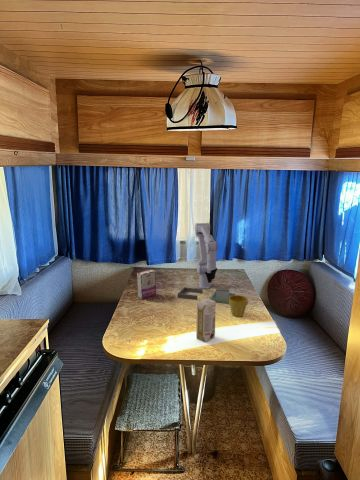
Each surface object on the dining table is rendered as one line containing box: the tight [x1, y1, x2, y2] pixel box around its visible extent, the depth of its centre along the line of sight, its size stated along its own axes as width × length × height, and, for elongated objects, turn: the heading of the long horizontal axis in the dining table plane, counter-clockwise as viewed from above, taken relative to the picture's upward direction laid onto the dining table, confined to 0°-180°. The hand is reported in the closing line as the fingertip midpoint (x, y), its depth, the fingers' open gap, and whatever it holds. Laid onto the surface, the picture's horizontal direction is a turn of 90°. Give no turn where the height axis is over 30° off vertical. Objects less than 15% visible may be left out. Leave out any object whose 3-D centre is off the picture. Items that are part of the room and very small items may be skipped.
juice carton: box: [195, 297, 217, 343], centre depth 176 cm, size 8×9×19 cm
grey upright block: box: [215, 287, 230, 300], centre depth 228 cm, size 5×8×6 cm, turn 83°
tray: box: [209, 290, 237, 305], centre depth 229 cm, size 14×14×2 cm
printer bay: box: [177, 286, 204, 301], centre depth 235 cm, size 13×13×2 cm
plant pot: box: [228, 294, 249, 318], centre depth 204 cm, size 10×10×10 cm
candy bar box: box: [136, 269, 157, 300], centre depth 232 cm, size 11×5×16 cm, turn 129°
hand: (211, 280), depth 234 cm, fingers open, 7 cm apart
